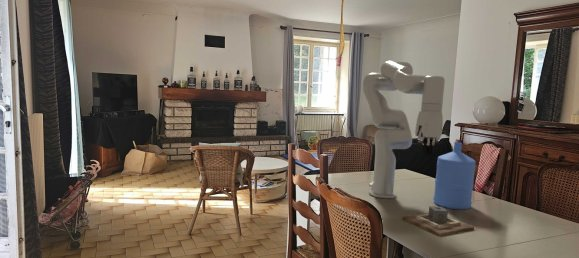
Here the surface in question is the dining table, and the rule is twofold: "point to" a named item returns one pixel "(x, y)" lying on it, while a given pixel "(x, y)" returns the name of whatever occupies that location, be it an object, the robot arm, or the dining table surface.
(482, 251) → the dining table surface
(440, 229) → the pocket board
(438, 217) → the dice cube
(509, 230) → the dining table surface
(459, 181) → the water jug
